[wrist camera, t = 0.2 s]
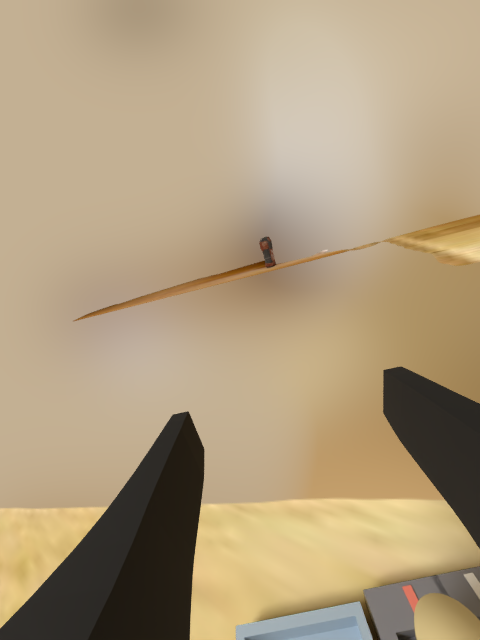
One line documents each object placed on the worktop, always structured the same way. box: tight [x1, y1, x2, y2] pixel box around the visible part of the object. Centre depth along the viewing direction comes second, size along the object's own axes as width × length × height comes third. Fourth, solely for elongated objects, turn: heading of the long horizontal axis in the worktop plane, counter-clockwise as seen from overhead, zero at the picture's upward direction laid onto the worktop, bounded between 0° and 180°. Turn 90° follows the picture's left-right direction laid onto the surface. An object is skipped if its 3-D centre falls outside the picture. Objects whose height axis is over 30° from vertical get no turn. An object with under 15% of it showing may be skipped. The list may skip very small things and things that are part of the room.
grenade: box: [260, 237, 276, 267], centre depth 128 cm, size 6×8×15 cm
